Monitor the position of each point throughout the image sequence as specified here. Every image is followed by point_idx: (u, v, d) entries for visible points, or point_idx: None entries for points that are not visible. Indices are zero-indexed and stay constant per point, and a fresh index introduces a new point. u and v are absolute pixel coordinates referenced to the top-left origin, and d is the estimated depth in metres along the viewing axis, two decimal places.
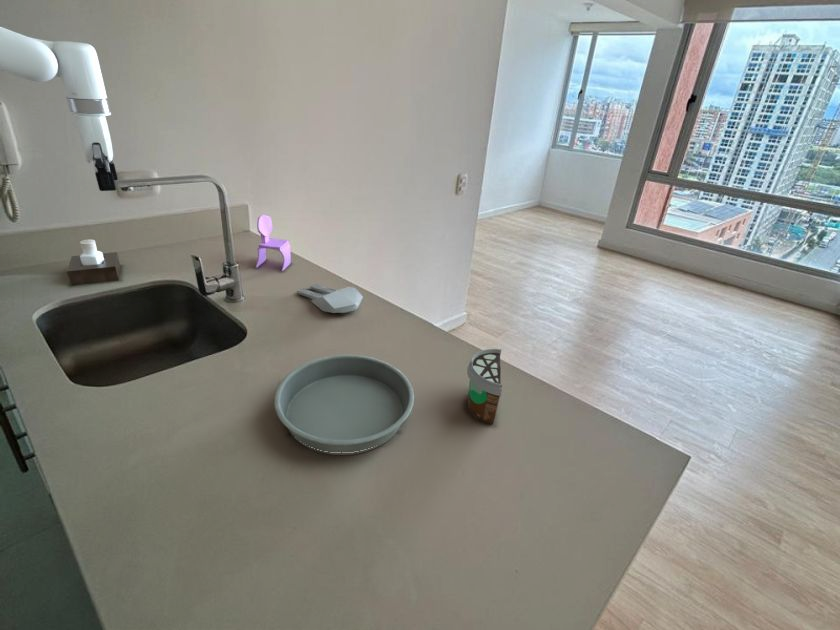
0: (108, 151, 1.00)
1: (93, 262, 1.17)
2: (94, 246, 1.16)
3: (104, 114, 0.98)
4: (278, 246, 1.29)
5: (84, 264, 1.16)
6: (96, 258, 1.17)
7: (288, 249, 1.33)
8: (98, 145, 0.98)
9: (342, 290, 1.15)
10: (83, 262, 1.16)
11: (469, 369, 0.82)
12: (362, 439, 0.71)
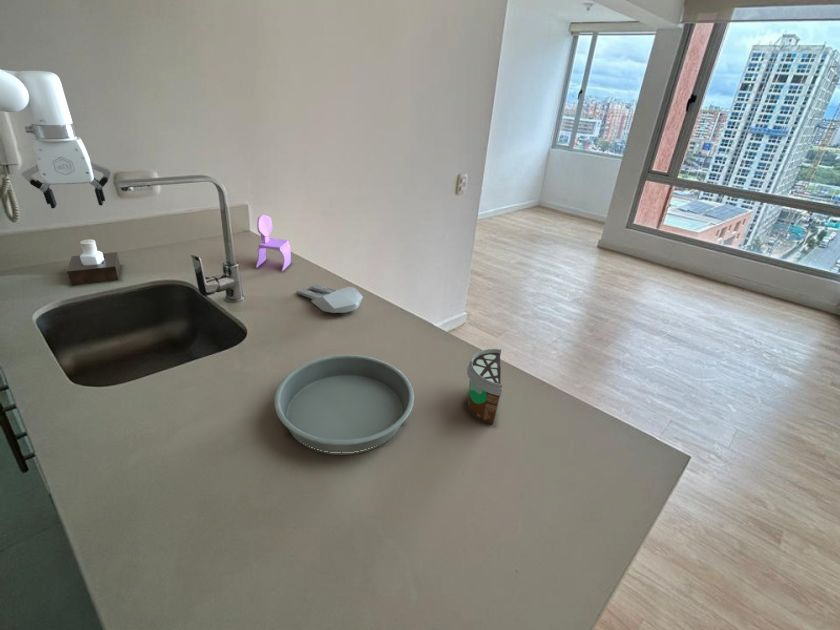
0: None
1: (93, 262, 1.17)
2: (94, 246, 1.16)
3: None
4: (278, 246, 1.29)
5: (84, 264, 1.16)
6: (96, 258, 1.17)
7: (288, 249, 1.33)
8: (92, 163, 1.09)
9: (342, 290, 1.15)
10: (83, 262, 1.16)
11: (469, 369, 0.82)
12: (362, 439, 0.71)
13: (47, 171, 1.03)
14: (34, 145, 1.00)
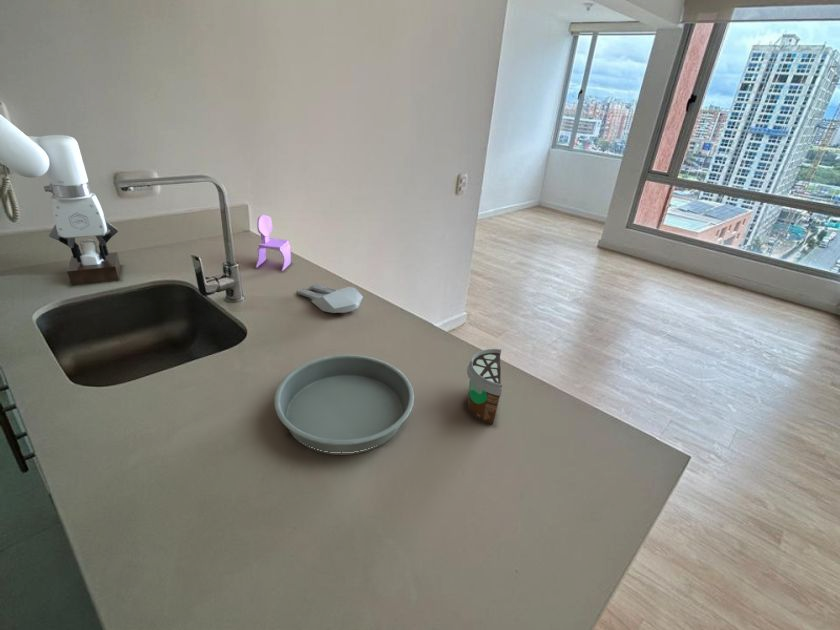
0: None
1: (93, 262, 1.17)
2: (94, 246, 1.16)
3: None
4: (278, 246, 1.29)
5: (84, 264, 1.16)
6: (96, 258, 1.17)
7: (288, 249, 1.33)
8: (105, 219, 1.15)
9: (342, 290, 1.15)
10: (83, 262, 1.16)
11: (469, 369, 0.82)
12: (362, 439, 0.71)
13: (63, 226, 1.10)
14: (52, 203, 1.07)
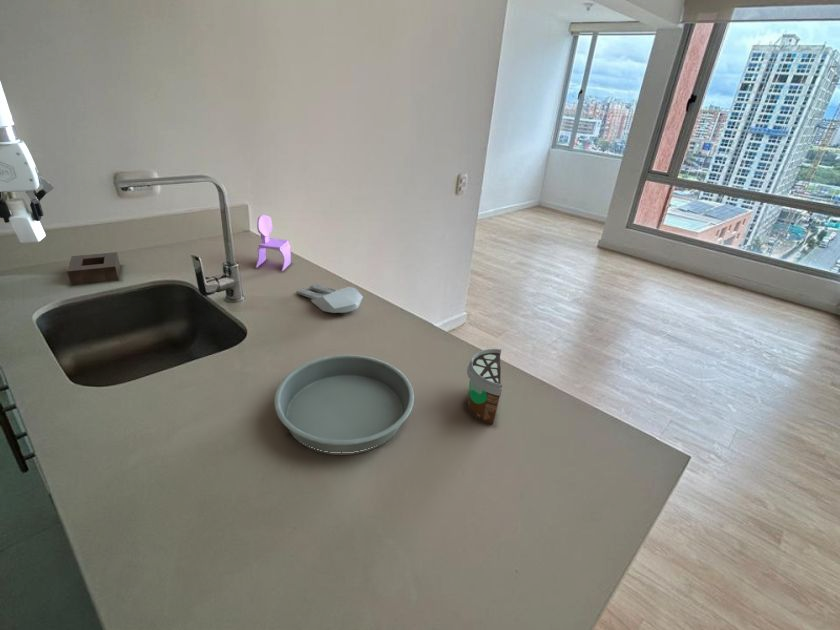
0: None
1: (25, 225, 1.00)
2: (24, 205, 0.99)
3: None
4: (278, 246, 1.29)
5: (15, 227, 1.00)
6: (29, 220, 1.00)
7: (288, 249, 1.33)
8: (37, 172, 0.99)
9: (342, 290, 1.15)
10: (14, 225, 0.99)
11: (469, 369, 0.82)
12: (362, 439, 0.71)
13: None
14: None
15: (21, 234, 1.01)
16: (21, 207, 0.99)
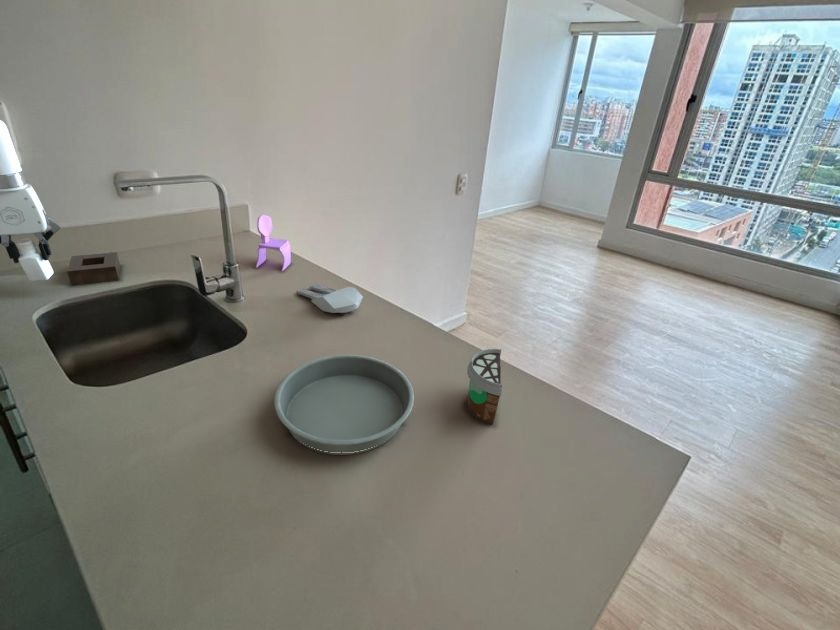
0: None
1: (34, 264, 1.03)
2: (32, 246, 1.03)
3: None
4: (278, 246, 1.29)
5: (24, 267, 1.03)
6: (38, 259, 1.03)
7: (288, 249, 1.33)
8: (45, 214, 1.02)
9: (342, 290, 1.15)
10: (23, 265, 1.03)
11: (469, 369, 0.82)
12: (362, 439, 0.71)
13: None
14: None
15: (30, 273, 1.04)
16: (30, 248, 1.02)
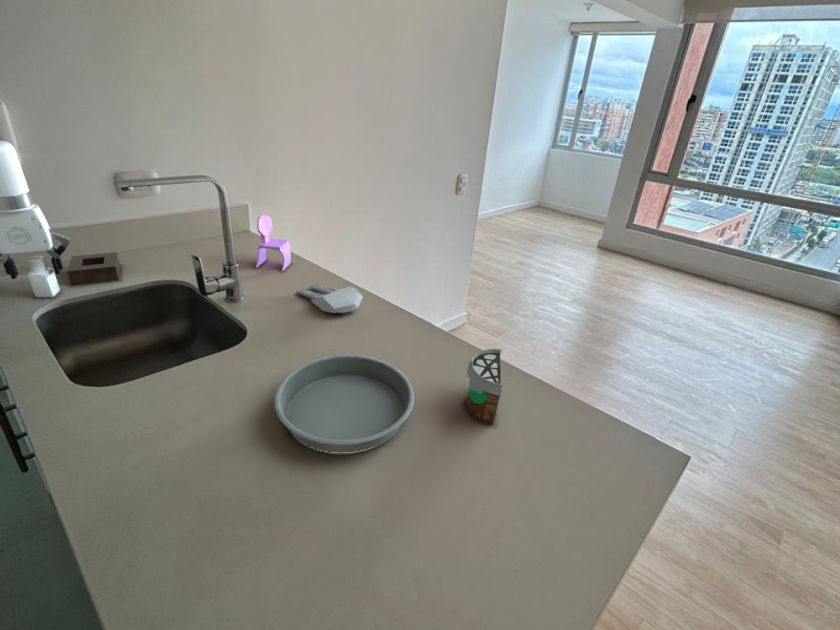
0: None
1: (43, 281, 1.06)
2: (43, 263, 1.05)
3: None
4: (278, 246, 1.29)
5: (33, 283, 1.06)
6: (47, 276, 1.06)
7: (288, 249, 1.33)
8: (51, 231, 1.04)
9: (342, 290, 1.15)
10: (31, 281, 1.05)
11: (469, 369, 0.82)
12: (362, 439, 0.71)
13: (1, 241, 0.98)
14: None
15: (37, 289, 1.07)
16: (41, 265, 1.05)
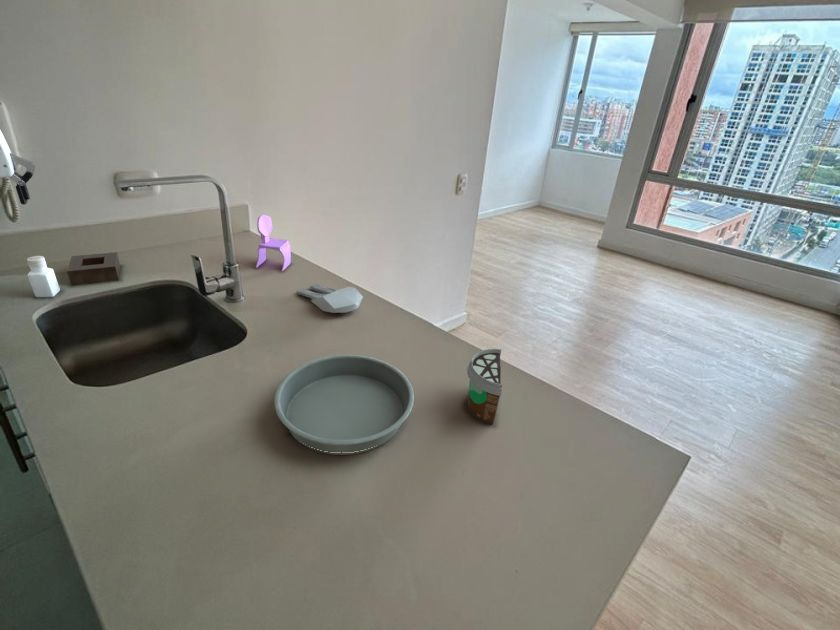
0: None
1: (43, 281, 1.06)
2: (43, 263, 1.05)
3: None
4: (278, 246, 1.29)
5: (33, 283, 1.06)
6: (47, 276, 1.06)
7: (288, 249, 1.33)
8: (13, 155, 0.94)
9: (342, 290, 1.15)
10: (31, 281, 1.05)
11: (469, 369, 0.82)
12: (362, 439, 0.71)
13: None
14: None
15: (37, 289, 1.07)
16: (41, 265, 1.05)
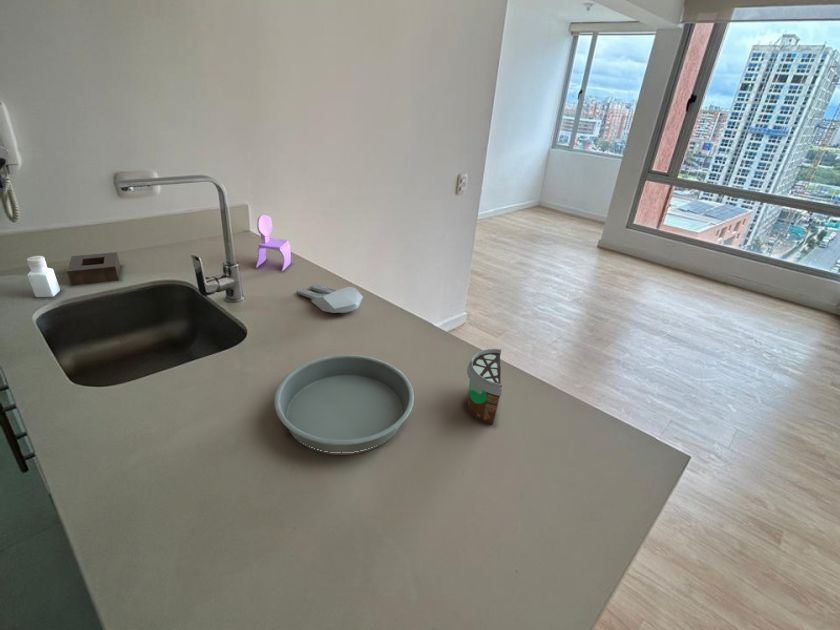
0: None
1: (43, 281, 1.06)
2: (43, 263, 1.05)
3: None
4: (278, 246, 1.29)
5: (33, 283, 1.06)
6: (47, 276, 1.06)
7: (288, 249, 1.33)
8: None
9: (342, 290, 1.15)
10: (31, 281, 1.05)
11: (469, 369, 0.82)
12: (362, 439, 0.71)
13: None
14: None
15: (37, 289, 1.07)
16: (41, 265, 1.05)
